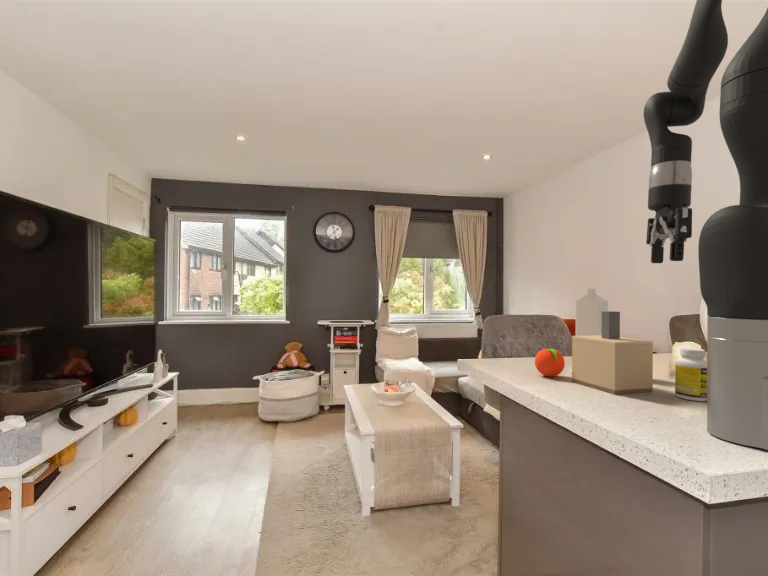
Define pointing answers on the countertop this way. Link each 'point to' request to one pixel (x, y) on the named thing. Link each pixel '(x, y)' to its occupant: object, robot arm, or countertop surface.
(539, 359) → the clementine
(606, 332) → the lid
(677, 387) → the supplement bottle
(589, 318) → the milk
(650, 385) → the carton
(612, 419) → the countertop surface
